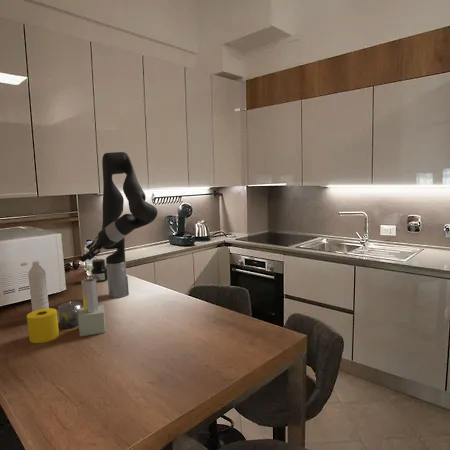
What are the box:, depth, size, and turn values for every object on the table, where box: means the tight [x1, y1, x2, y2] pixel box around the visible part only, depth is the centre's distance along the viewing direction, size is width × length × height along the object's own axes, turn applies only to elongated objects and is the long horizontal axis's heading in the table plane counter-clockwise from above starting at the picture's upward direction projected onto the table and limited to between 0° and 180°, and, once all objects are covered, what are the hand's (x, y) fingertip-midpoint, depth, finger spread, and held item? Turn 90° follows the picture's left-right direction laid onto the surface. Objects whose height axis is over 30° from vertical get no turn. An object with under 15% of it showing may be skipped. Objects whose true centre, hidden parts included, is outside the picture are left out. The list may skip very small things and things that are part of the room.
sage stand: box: [78, 304, 107, 337], centre depth 139 cm, size 9×9×10 cm
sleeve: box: [81, 277, 99, 313], centre depth 138 cm, size 5×5×12 cm
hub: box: [57, 300, 83, 329], centre depth 146 cm, size 9×9×10 cm
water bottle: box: [20, 261, 50, 312], centre depth 152 cm, size 9×6×25 cm
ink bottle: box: [90, 258, 108, 283], centre depth 208 cm, size 10×9×12 cm
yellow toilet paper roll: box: [26, 307, 60, 344], centre depth 134 cm, size 10×10×9 cm
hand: (84, 254), depth 145 cm, fingers open, 8 cm apart
